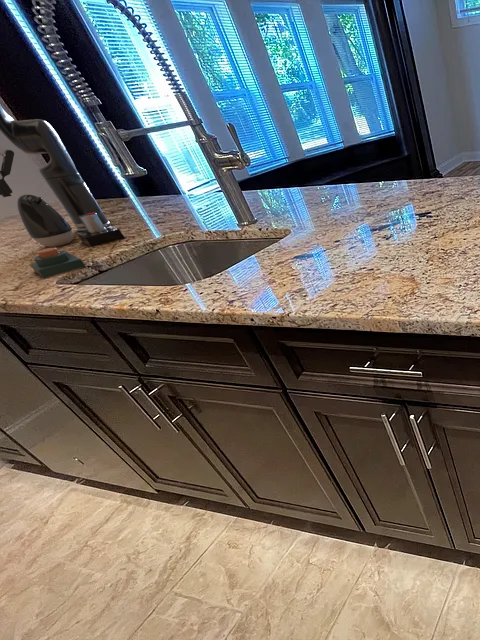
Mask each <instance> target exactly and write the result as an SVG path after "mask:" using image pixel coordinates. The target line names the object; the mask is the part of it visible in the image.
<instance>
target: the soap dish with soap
mask: <svg viewBox="0 0 480 640" xmlns="http://www.w3.org/2000/svg"><path fill="white" fill-rule="evenodd" d="M58 251H59V253H60V254H58V255H56V256H52V257H47V258H41V257H40V256H39V255H36V256H34V257H33V258H32V259H33V261H34V262H33V263H32V262H31V263H29V266H30V267H31V268H32V270H33V271H34V272H35V273H36V274H37V275H39V276H40V277H42V278H43V279H46V278H50V277H53V276H57V275H58V276H59V275H61V274H64V273H67V272H71V271H74V270H75V271H76V270H78V269H82V268H86V264H85V263H84V262H83V259H81V258H80V257H77V256H76V255H74V254H72V253H69V252H68V251H67V250H58Z"/></svg>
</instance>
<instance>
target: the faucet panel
mask: <svg viewBox="0 0 480 640" xmlns="http://www.w3.org/2000/svg"><path fill="white" fill-rule="evenodd" d="M105 228H106V230H104V231H101V232H97V233H89V232H88V231H79V232H77V233H76V235H77V237H78V238H79V240H80V242H81V243H82V244H85V245H87V246H89V247H90V248H92V247H96V246H97V247H98V246H101V245H104V244H108V243H109V244H110V243H113V242H116V241H120V240H125V236H124V235H123V233H122V231H121V229H120V228H117V227H114V226H112V225H109V226H105Z"/></svg>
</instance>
